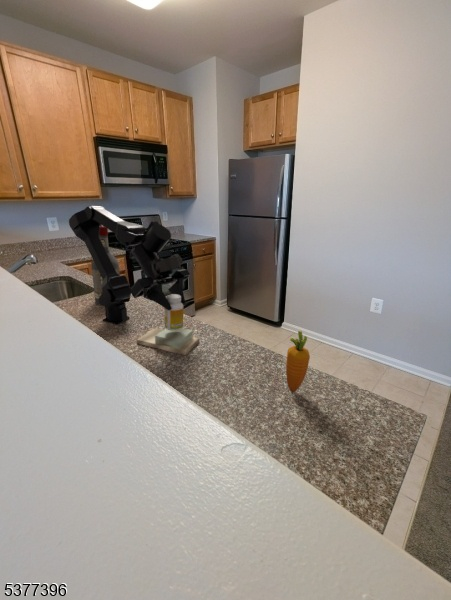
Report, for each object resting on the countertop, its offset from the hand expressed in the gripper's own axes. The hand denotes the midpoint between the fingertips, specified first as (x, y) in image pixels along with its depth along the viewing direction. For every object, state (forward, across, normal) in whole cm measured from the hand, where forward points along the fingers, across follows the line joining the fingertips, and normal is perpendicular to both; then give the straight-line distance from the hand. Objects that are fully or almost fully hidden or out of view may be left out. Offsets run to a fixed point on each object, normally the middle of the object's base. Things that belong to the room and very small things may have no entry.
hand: (177, 306), depth 78 cm
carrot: (+34, 0, -17) cm, 38 cm away
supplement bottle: (+4, 0, +6) cm, 7 cm away
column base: (+6, 0, +11) cm, 13 cm away
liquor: (-24, +9, +42) cm, 49 cm away
